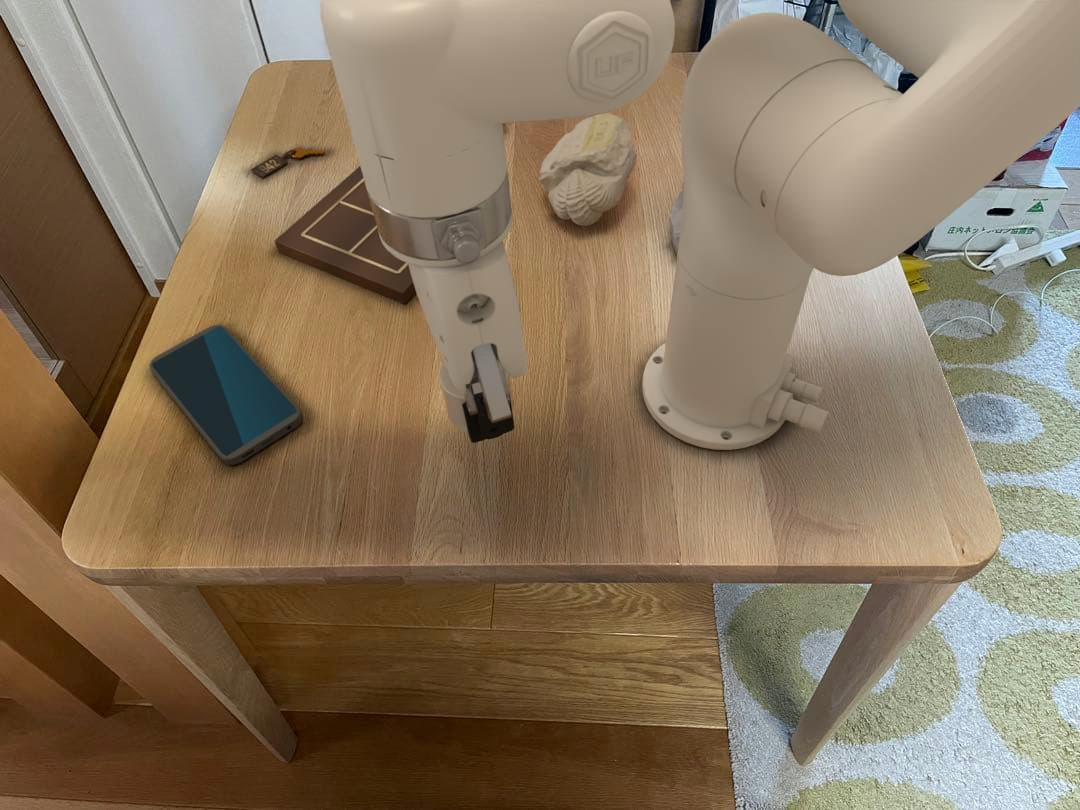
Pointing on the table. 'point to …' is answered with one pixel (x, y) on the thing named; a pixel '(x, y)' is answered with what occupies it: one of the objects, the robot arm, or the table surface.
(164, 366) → the smartphone
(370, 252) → the board
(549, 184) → the fossil replica
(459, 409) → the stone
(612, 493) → the table surface
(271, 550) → the table surface
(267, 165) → the key tag
